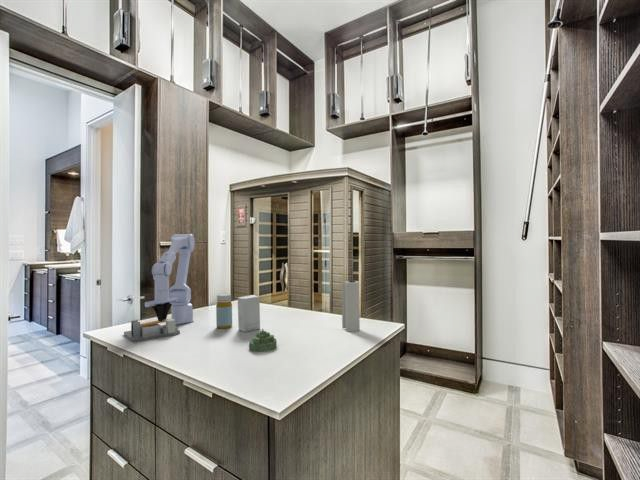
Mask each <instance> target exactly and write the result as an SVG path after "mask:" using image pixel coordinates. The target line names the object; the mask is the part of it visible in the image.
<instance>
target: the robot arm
mask: <svg viewBox="0 0 640 480" xmlns="http://www.w3.org/2000/svg"><path fill="white" fill-rule="evenodd" d="M170 242H171V245H170V246H169V249H168V251H165V252H163V254H162V256H161V257H160V259H159V260H158V261H157V262H156V263H154V264H153V265H152V267H151V274H152V277H153V278H152V279H153V280H154V300H150V301H145V302H144V307H145V308H150V307H152V309H153V310H154V312H155V315H156V318H157V321H160V322H161V321H162V320H164V319H168V315H169V314H168V313H169V312H171V313H170V314H171V318H170V319H174V320H175V325H181V324H188V323H193V322H194V316H193V315H194V307H193V304H192V303H191V300H192V289H191V288H190V287H189V286H188V285H187V280H188V273H189V267H190V259H191V253H193V252H194V249H195V243H196V239H195V236H194V235H193V234H192V233H190V234H189V233H187V234H186V233H185V234H182V233H181V234H179V233H178V234H176V233H174V234H172V236H171V238H170ZM177 253H179V257H178V258H179V259H178V264H177V265H178V266H177V270H176V271H177V272H176V277H175V282H174V283H175V284H173V285H172V286H170V275H171V274H172V269H173V264H174V263H175V261H176V259H177V256H176V255H177ZM170 309H171V311H170Z"/></svg>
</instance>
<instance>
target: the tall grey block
mask: <svg viewBox="0 0 640 480" xmlns="http://www.w3.org/2000/svg"><path fill="white" fill-rule="evenodd" d="M341 316H342V317H341V322H342V324H341V325H342V326H341V327H342V329H345V331H346V332H351V333H352V332H353V333H355V332H360V330H361V329H360V328H361V326H360V321H361V320H360V282H359V281H358V280H344V281H343V280H342V281H341Z"/></svg>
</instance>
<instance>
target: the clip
mask: <svg viewBox="0 0 640 480" xmlns="http://www.w3.org/2000/svg"><path fill="white" fill-rule="evenodd" d="M163 323H165V325H166V329H167V333H172V332H176V327H177V326H176V325H175V320H174V319H171V318H166V319H164V322H163Z"/></svg>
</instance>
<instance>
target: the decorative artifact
mask: <svg viewBox="0 0 640 480" xmlns="http://www.w3.org/2000/svg"><path fill="white" fill-rule="evenodd" d="M277 343H278V342H277V338H275V335H274V334H271V333H270V332H269V331H266V330H264V328H261V330H260V331H259V332H256V335H254V336H253V338H252V339H250V340H249V341H248V345H249V346H248V348H249V350H250V351H252V352H255V353H256V352H258V353H263V352H264V353H265V352H271V351H273V350H275V349H277Z"/></svg>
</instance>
